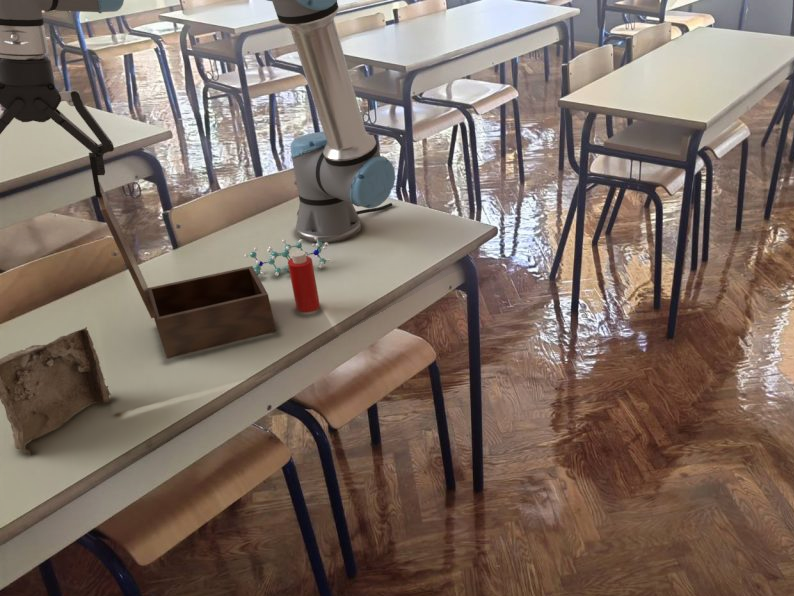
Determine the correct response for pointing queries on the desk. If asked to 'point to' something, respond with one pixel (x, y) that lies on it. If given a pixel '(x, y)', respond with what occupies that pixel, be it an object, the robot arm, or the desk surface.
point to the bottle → (303, 282)
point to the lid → (125, 251)
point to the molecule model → (286, 253)
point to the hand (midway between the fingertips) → (49, 198)
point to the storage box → (211, 311)
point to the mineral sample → (50, 385)
